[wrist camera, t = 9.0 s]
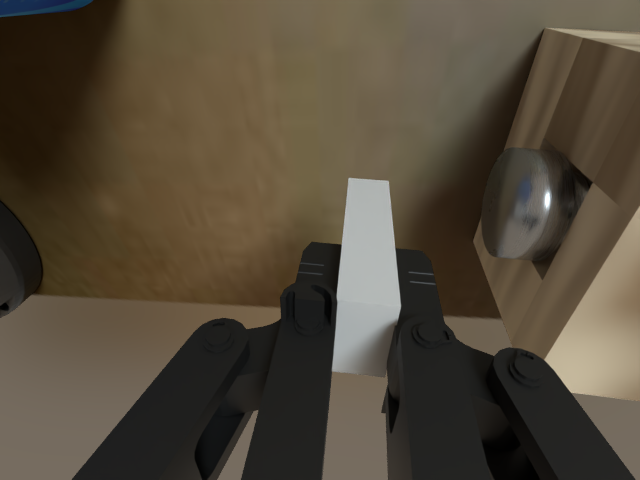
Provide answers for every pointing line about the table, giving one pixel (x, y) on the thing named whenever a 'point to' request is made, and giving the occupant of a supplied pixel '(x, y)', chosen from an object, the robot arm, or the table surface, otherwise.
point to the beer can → (38, 6)
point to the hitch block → (582, 215)
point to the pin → (530, 203)
